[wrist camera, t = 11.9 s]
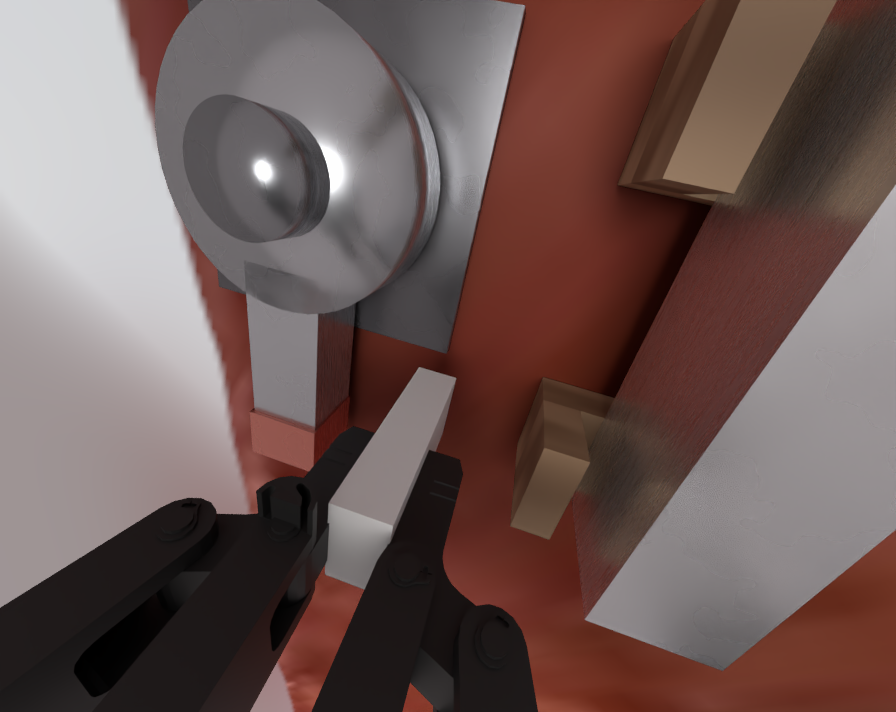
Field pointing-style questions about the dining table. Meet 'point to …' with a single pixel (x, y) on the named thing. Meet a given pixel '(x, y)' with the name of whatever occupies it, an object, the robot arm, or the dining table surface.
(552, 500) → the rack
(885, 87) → the steel bar
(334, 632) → the dining table surface
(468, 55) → the base
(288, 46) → the silver lever handle
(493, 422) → the dining table surface
